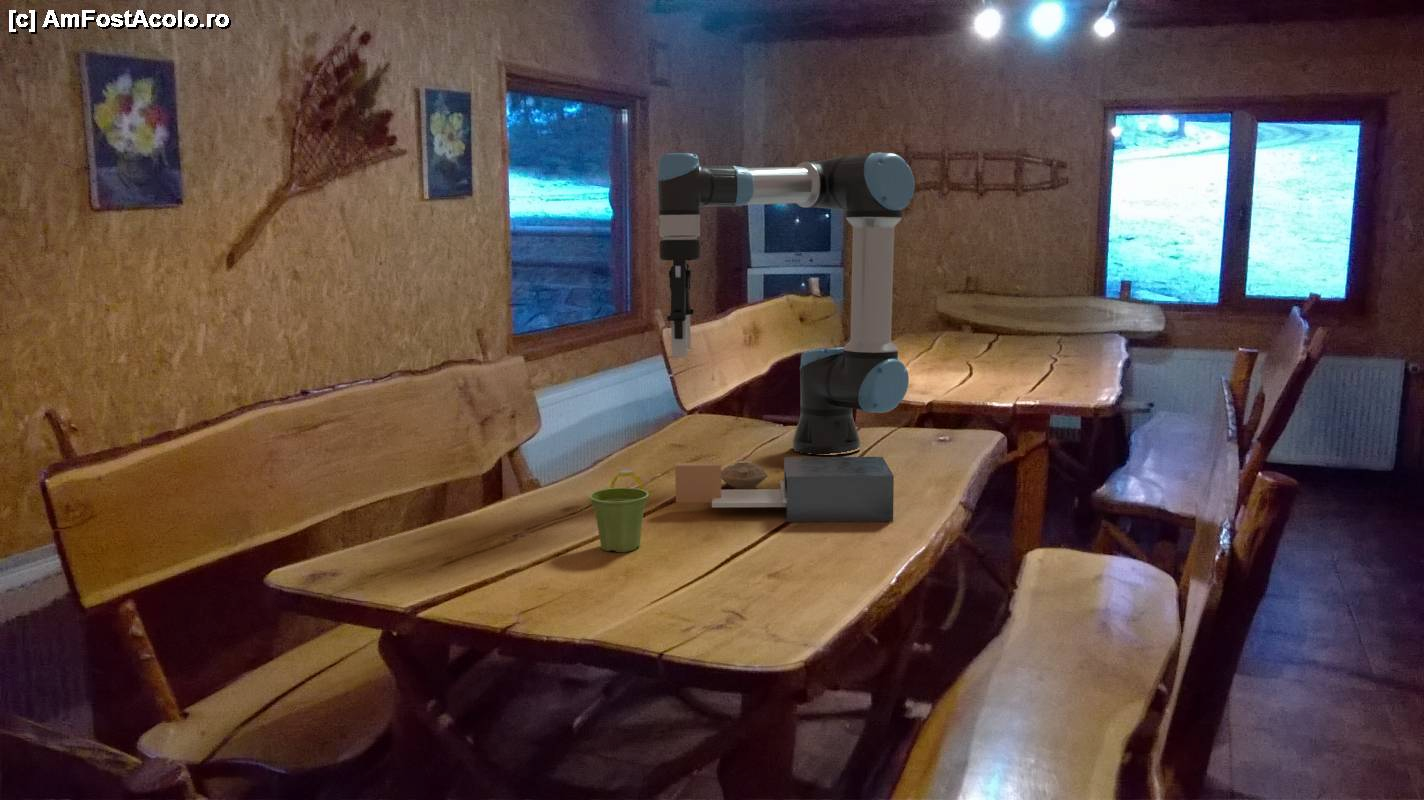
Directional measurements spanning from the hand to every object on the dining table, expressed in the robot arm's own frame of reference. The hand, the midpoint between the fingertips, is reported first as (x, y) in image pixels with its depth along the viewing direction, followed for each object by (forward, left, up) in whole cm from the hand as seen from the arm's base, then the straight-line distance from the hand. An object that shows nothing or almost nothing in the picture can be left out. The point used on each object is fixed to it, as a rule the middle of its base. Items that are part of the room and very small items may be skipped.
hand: (681, 352), depth 212 cm
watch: (+8, -10, -27) cm, 30 cm away
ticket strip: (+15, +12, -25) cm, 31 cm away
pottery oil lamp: (-4, +12, -27) cm, 30 cm away
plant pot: (+38, -8, -27) cm, 47 cm away
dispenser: (+15, +28, -27) cm, 41 cm away
